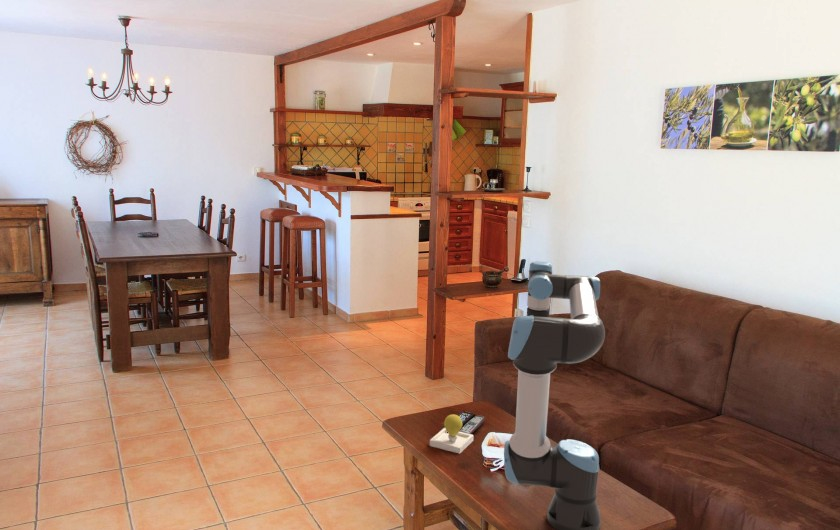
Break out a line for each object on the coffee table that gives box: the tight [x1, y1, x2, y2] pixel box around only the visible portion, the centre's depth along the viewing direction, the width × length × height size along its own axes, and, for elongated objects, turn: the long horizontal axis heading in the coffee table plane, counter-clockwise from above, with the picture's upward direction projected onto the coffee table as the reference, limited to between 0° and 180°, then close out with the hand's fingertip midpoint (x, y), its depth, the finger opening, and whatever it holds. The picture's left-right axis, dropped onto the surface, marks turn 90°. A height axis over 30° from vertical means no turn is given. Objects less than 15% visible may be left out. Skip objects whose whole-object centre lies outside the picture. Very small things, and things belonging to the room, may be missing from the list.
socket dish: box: [429, 427, 474, 454], centre depth 233 cm, size 12×12×2 cm
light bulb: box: [443, 413, 463, 442], centre depth 231 cm, size 7×7×10 cm
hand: (534, 367), depth 218 cm, fingers open, 13 cm apart
